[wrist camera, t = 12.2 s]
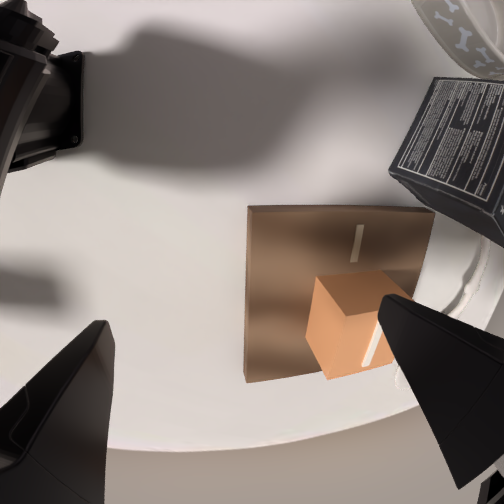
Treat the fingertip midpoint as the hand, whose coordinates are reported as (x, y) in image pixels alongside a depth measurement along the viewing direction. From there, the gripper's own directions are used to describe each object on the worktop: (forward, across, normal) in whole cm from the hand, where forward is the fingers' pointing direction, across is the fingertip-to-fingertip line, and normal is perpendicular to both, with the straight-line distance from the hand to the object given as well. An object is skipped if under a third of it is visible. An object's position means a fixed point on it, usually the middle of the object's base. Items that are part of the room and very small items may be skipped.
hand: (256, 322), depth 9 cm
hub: (+10, -10, +8) cm, 17 cm away
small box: (+12, -18, -6) cm, 23 cm away
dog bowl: (+12, -23, -23) cm, 35 cm away
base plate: (+12, -10, +8) cm, 18 cm away
